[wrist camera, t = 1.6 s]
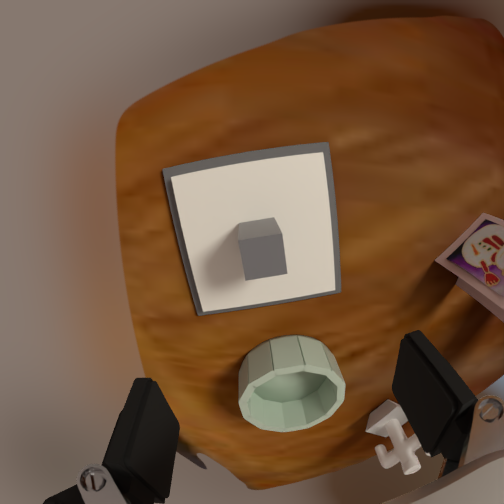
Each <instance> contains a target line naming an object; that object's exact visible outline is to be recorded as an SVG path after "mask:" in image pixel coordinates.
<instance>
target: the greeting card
mask: <svg viewBox="0 0 504 504" xmlns="http://www.w3.org/2000/svg"><path fill="white" fill-rule="evenodd" d="M434 261H436V262H437V263H439V264H441V265H442V266H443V267H445V268H446V269H448V270H449V271H451V272H452V273H454V274H455V275H457V276H458V280H457V282H456V285H457V286H459V287H460V288H461V289H463V290H464V291H465V292H467V293H468V294H469V295H470V296H472V297H473V298H474V299H476V300H477V301H478V302H479V303H481V304H482V305H483V306H484V307H486V308H487V309H488V310H489V311H491V312H492V313H493V314H494V315H495V316H497V317H498V318H499V319H500V320H501V321H503V322H504V220H502V219H499V218H496V217H494V216H491V215H488V214H486V213H482V214H481V215H480V217H479V218H478V219H477V220H476V221H475V222H474V223H473V224H472V225H471V226H470V227H469V228H468V229H467V230H466V231H465V232H464V233H463V234H462V235H461V236H460V237H459V238H458V239H457V240H456V241H455V242H454V243H453V244H452V245H451V246H449V247H448V248H447V249H446V250H445V251H444V252H443V253H442V254H441V255H440V256H439V257H438V258H436V259H435V260H434Z"/></svg>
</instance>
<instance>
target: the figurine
mask: <svg viewBox="0 0 504 504" xmlns="http://www.w3.org/2000/svg"><path fill="white" fill-rule="evenodd" d="M407 421H408V419H407V417H406V415H405V413H404V412H403V410H402V408H401V406H400V404H397V403H395V402H393V401H391V400H389V399H387V400H386V401H385V402H384V403H383V404H381V405H380V406H379V407H378V408H377V409H375V410H374V411H373V412H372V413H370V415H369V419H368V423H367V427H366V431H365V432H369V433H372V434H376V435H379V436H383V437H387V436H389V437H390V439H391V441H392V443H393V446H394V449H393V450H392V451H390V452H389V453H388V452H387V450H386V448H385V446H384V445H382V444H380V445H377V446H376V447H375V451H376V453H377V456H378V459H379V461H380V464H381V465H382V466H383V467H384V468H386V469H387V468H390V467H392V466H393V465H395V464H396V463H398V462H399V461H400V462H401V464H402V469H403V472H404V474H405V475H407V474H410V473H411V474H413V473H415V472H416V471H418V470H419V469H420V468H421V466H420V463H419V461H418V459H417V456H415V451H416V450H417V449H418V448H419V447H421V444H420V442H419V440H418V438H417V436H416V434H414V435H412V436H411V437H410V438H408V439H407V437H406V435H405V433H404V431H403V428H402V425H403V424H404V423H406V422H407ZM425 453H426V452H425ZM426 455H428V456H430V454H429V453H426Z"/></svg>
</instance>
